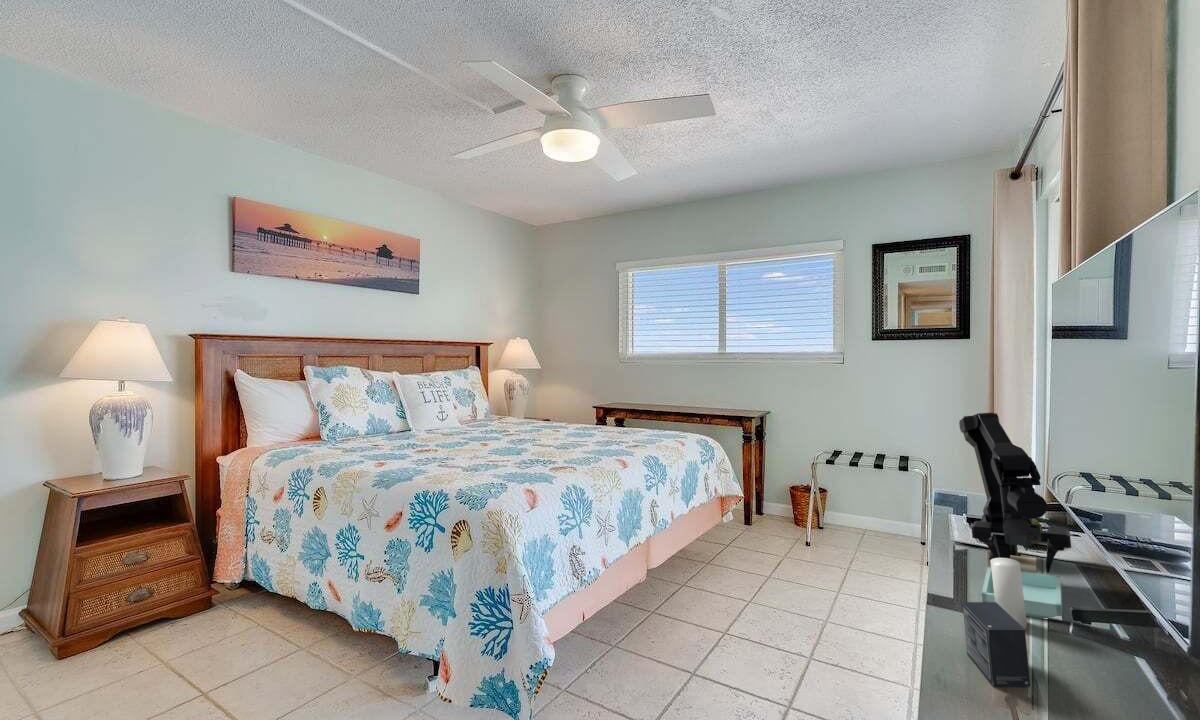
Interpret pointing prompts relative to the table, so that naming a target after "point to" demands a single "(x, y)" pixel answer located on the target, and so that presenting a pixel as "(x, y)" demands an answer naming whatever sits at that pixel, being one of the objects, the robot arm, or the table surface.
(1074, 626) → the table surface
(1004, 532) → the robot arm
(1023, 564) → the cube
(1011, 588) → the white tapered cylinder
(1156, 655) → the table surface
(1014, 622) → the small box
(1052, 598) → the tote
